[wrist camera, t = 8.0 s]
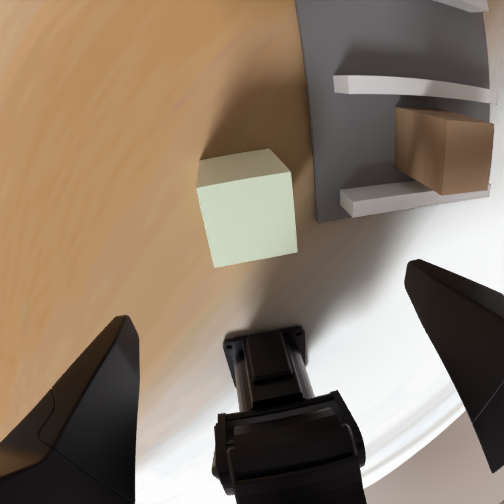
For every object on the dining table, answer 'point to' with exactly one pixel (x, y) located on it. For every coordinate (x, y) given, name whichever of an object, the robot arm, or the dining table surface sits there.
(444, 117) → the walnut block
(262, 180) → the sage block
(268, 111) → the dining table surface
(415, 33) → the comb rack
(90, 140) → the dining table surface
